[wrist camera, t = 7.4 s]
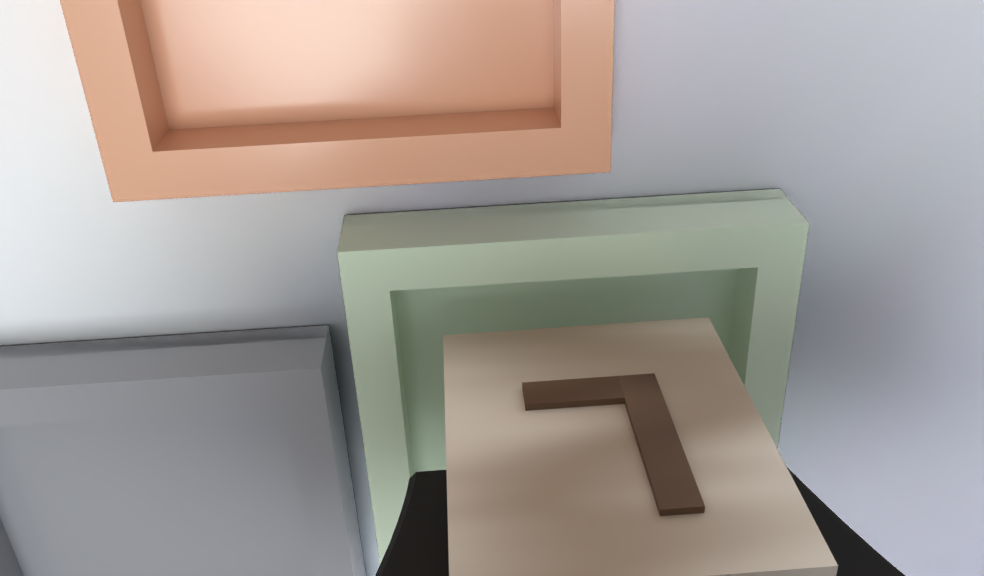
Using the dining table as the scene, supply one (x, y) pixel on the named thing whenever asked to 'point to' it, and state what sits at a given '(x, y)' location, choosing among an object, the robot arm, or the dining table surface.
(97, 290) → the dining table surface
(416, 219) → the green dish
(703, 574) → the letter block
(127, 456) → the grey dish
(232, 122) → the terracotta dish
